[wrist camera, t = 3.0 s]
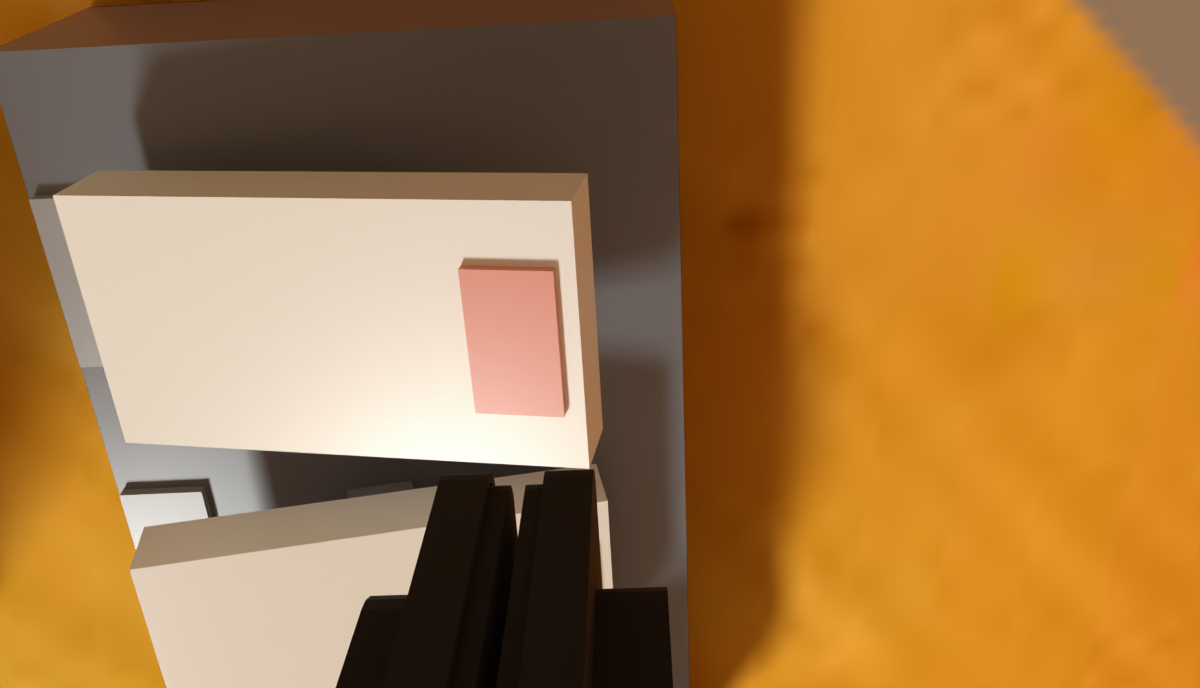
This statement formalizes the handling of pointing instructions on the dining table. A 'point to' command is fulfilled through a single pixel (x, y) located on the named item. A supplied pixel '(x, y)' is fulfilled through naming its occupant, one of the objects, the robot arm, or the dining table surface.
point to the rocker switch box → (389, 144)
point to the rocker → (344, 311)
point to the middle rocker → (288, 583)
